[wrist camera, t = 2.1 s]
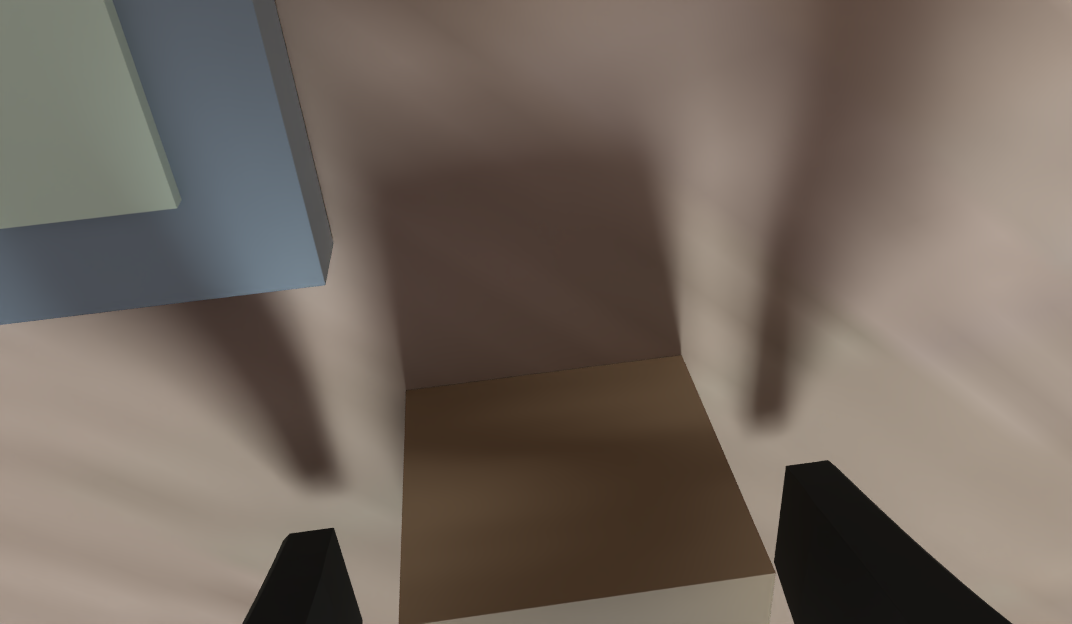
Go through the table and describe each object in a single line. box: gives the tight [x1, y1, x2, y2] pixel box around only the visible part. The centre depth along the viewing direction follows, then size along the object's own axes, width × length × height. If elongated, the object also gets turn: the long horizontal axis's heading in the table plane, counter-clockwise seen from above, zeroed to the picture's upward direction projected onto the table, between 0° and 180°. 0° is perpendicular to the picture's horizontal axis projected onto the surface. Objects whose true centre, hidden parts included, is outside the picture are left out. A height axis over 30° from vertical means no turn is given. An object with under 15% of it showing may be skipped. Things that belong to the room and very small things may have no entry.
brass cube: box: [399, 355, 776, 624], centre depth 11 cm, size 4×4×4 cm
